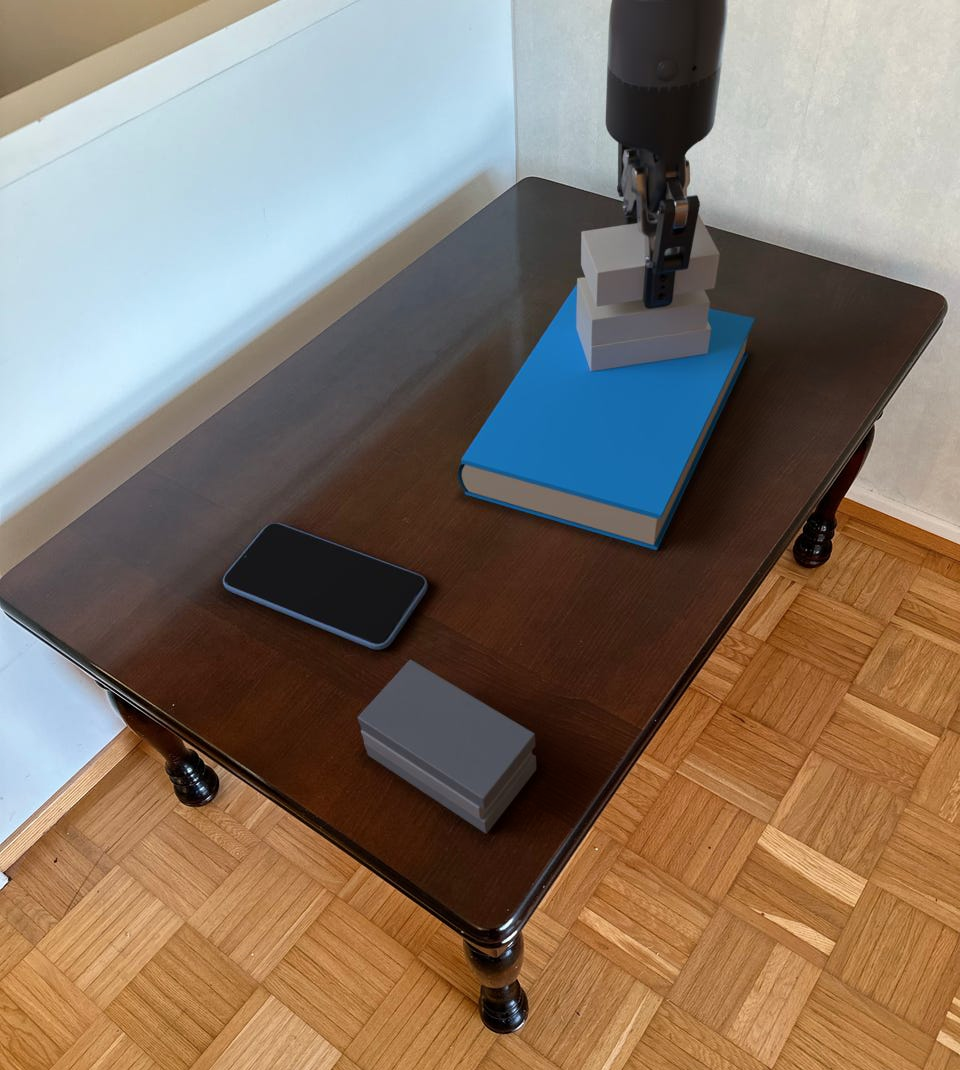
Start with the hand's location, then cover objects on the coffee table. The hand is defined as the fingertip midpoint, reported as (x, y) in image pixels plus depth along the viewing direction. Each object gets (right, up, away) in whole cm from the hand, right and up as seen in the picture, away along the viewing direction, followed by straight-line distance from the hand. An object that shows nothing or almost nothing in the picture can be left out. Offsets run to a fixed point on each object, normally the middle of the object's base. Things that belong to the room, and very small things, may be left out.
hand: (646, 281), depth 76 cm
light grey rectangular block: (0, -3, +5) cm, 6 cm away
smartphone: (-25, -25, -3) cm, 36 cm away
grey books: (-15, -37, -13) cm, 42 cm away
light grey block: (0, 0, 0) cm, 0 cm away
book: (-2, -10, +5) cm, 12 cm away
